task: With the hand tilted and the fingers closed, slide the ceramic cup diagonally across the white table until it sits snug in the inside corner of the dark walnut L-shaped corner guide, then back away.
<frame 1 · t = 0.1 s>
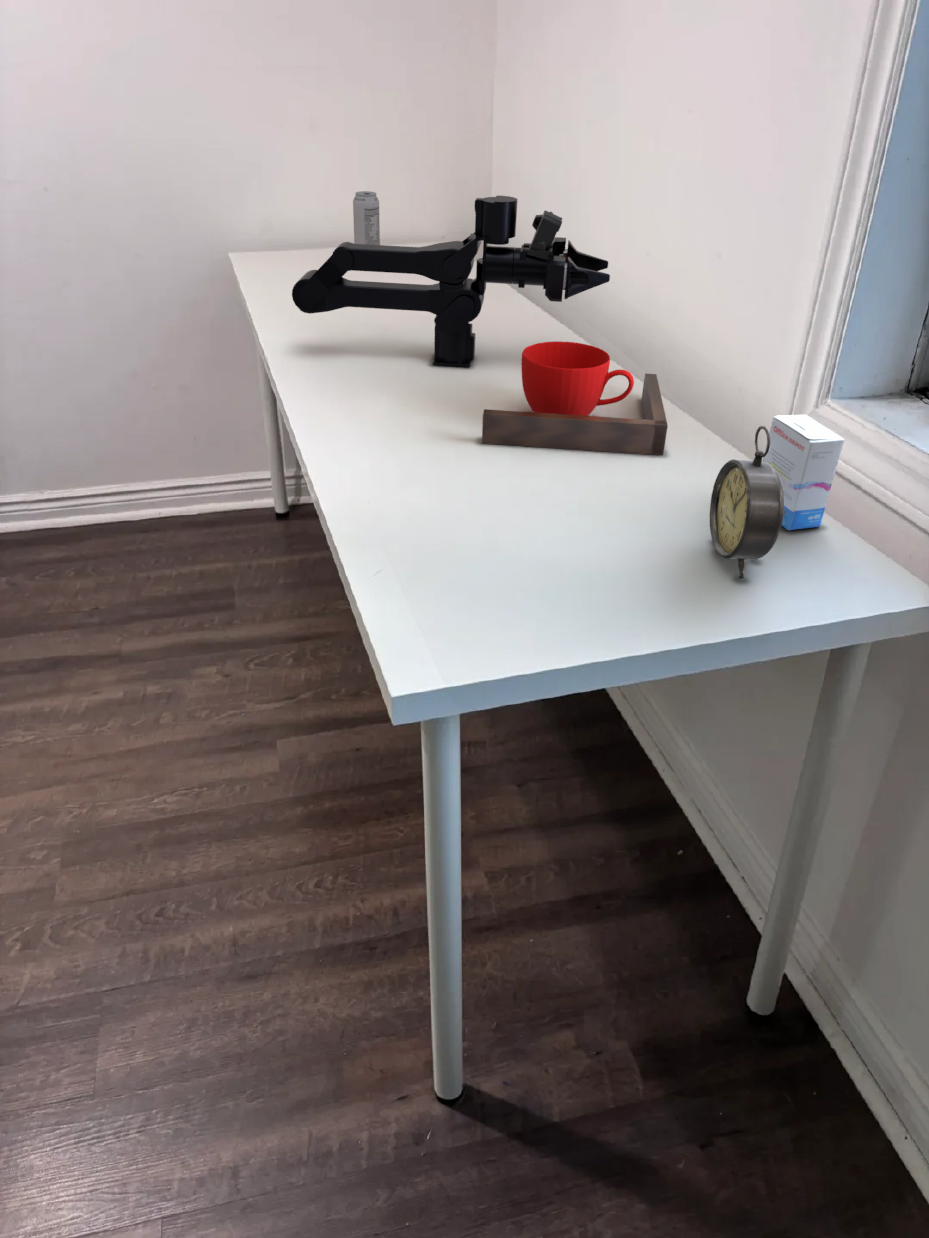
hand: (608, 271, 155), 17 cm above the table, tool horizontal, fingers open, 9 cm apart
energy drink can: (367, 262, 226), on the table
ceramic cup: (572, 422, 144), on the table
corner guide: (649, 449, 136), on the table
ink box: (786, 515, 120), on the table
alarm clock: (736, 561, 109), on the table
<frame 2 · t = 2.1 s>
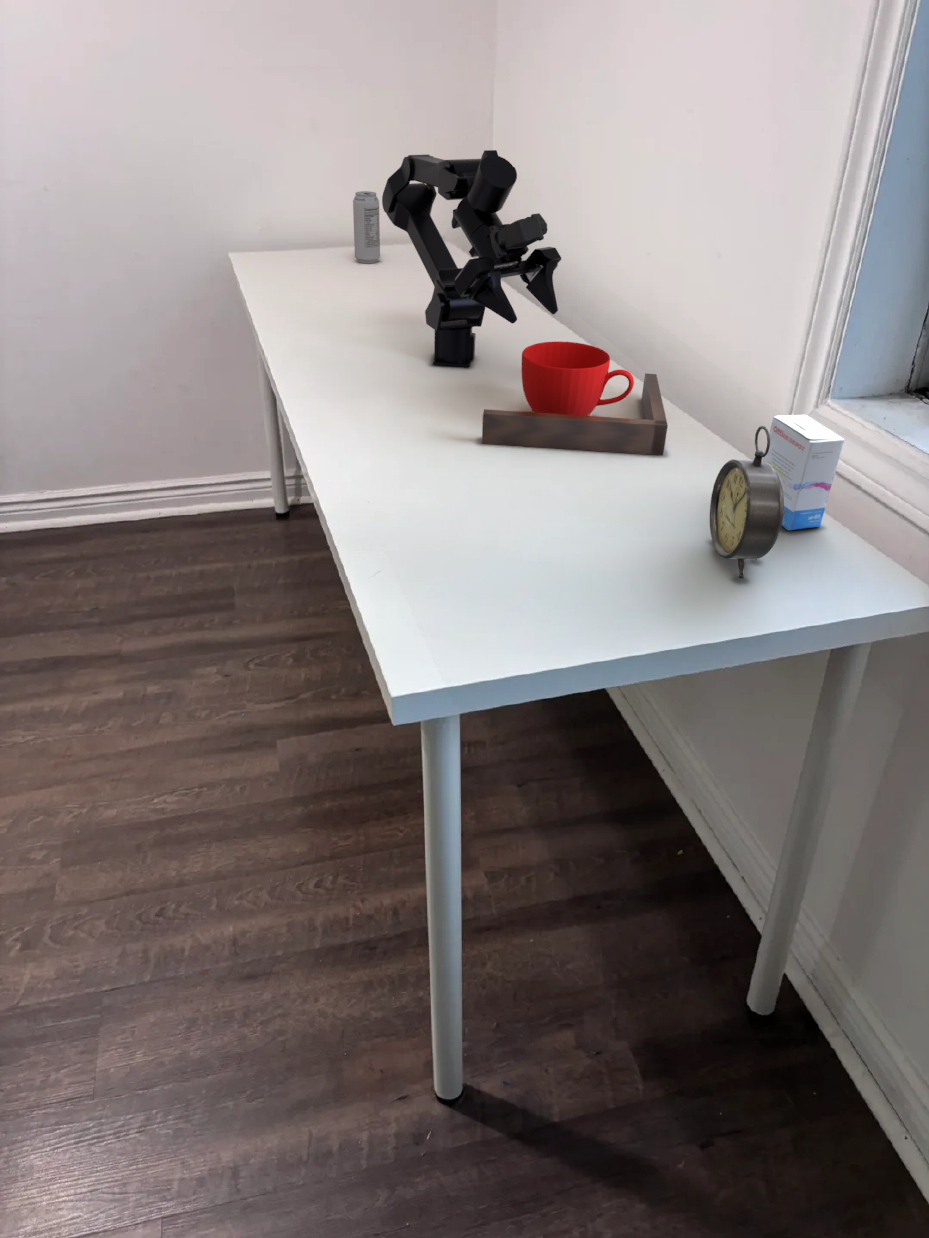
hand: (535, 317, 145), 13 cm above the table, tool tilted 50°, fingers open, 9 cm apart
nothing on the table moved.
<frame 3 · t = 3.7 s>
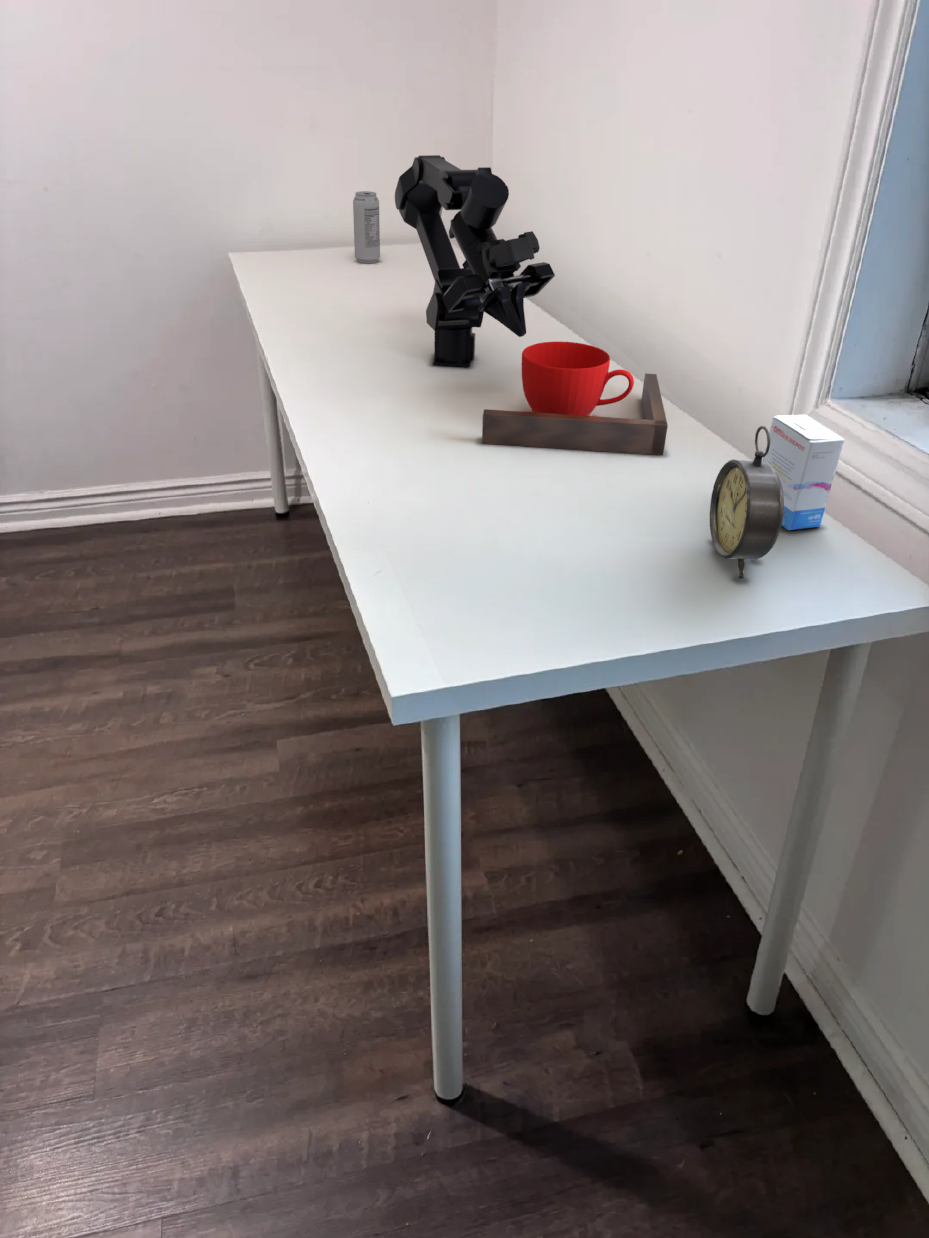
hand: (523, 335, 146), 10 cm above the table, tool tilted 45°, fingers closed
nothing on the table moved.
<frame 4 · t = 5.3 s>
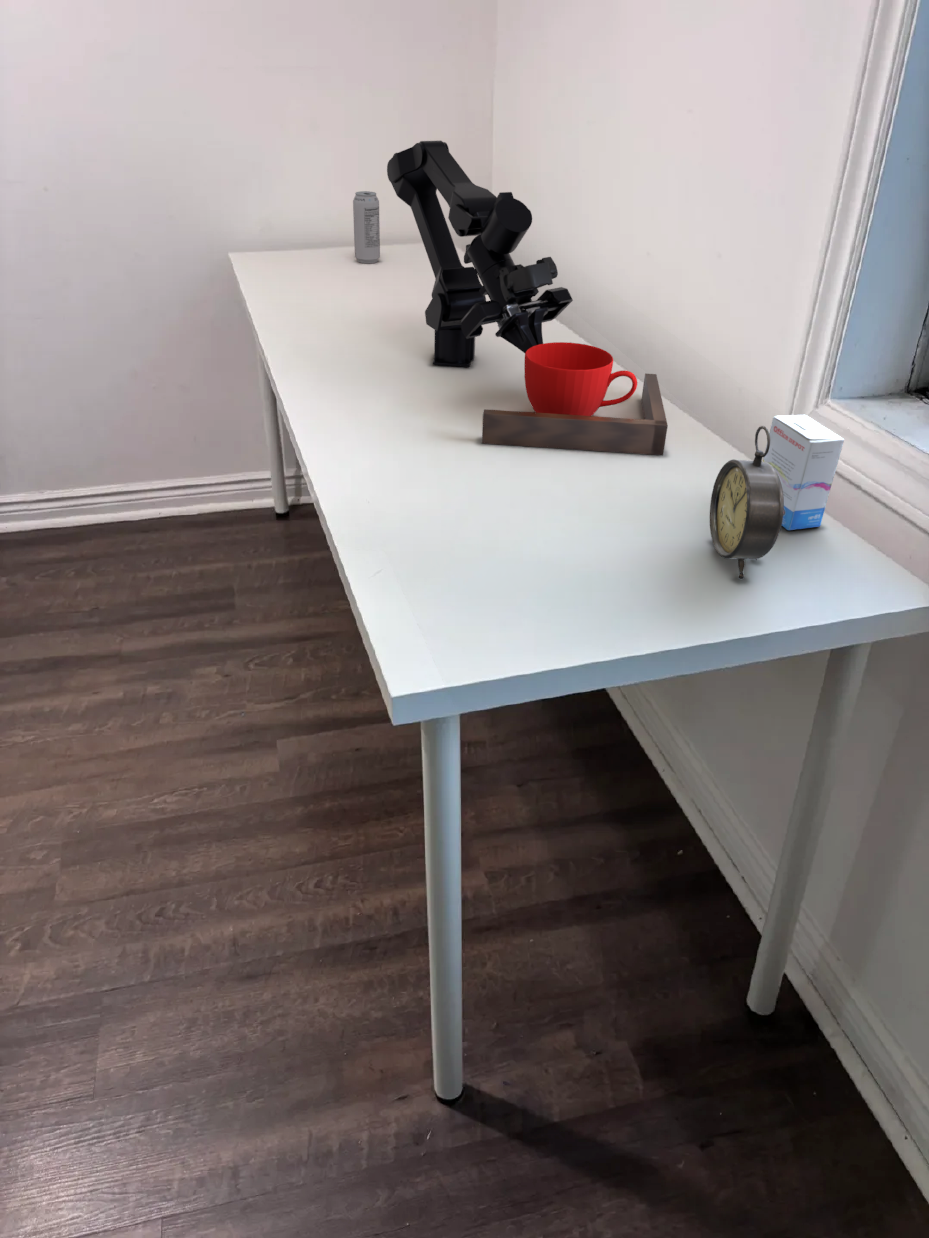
hand: (541, 361, 145), 7 cm above the table, tool tilted 45°, fingers closed
ceramic cup: (575, 423, 144), on the table, touching gripper
everything else where it was.
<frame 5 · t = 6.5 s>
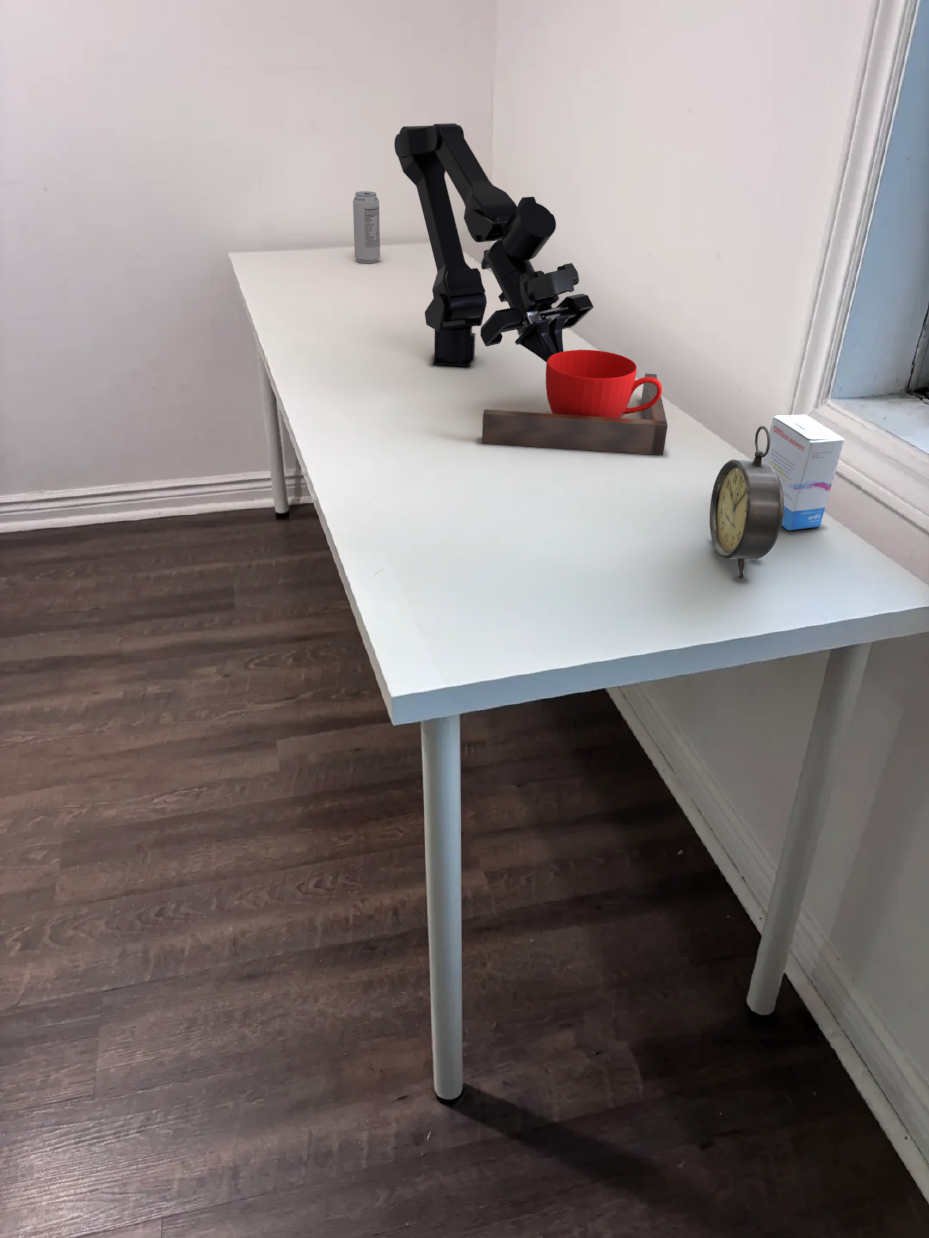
hand: (561, 369, 142), 7 cm above the table, tool tilted 45°, fingers closed, pressing on ceramic cup
ceramic cup: (597, 432, 141), on the table, touching corner guide, gripper
everything else where it was.
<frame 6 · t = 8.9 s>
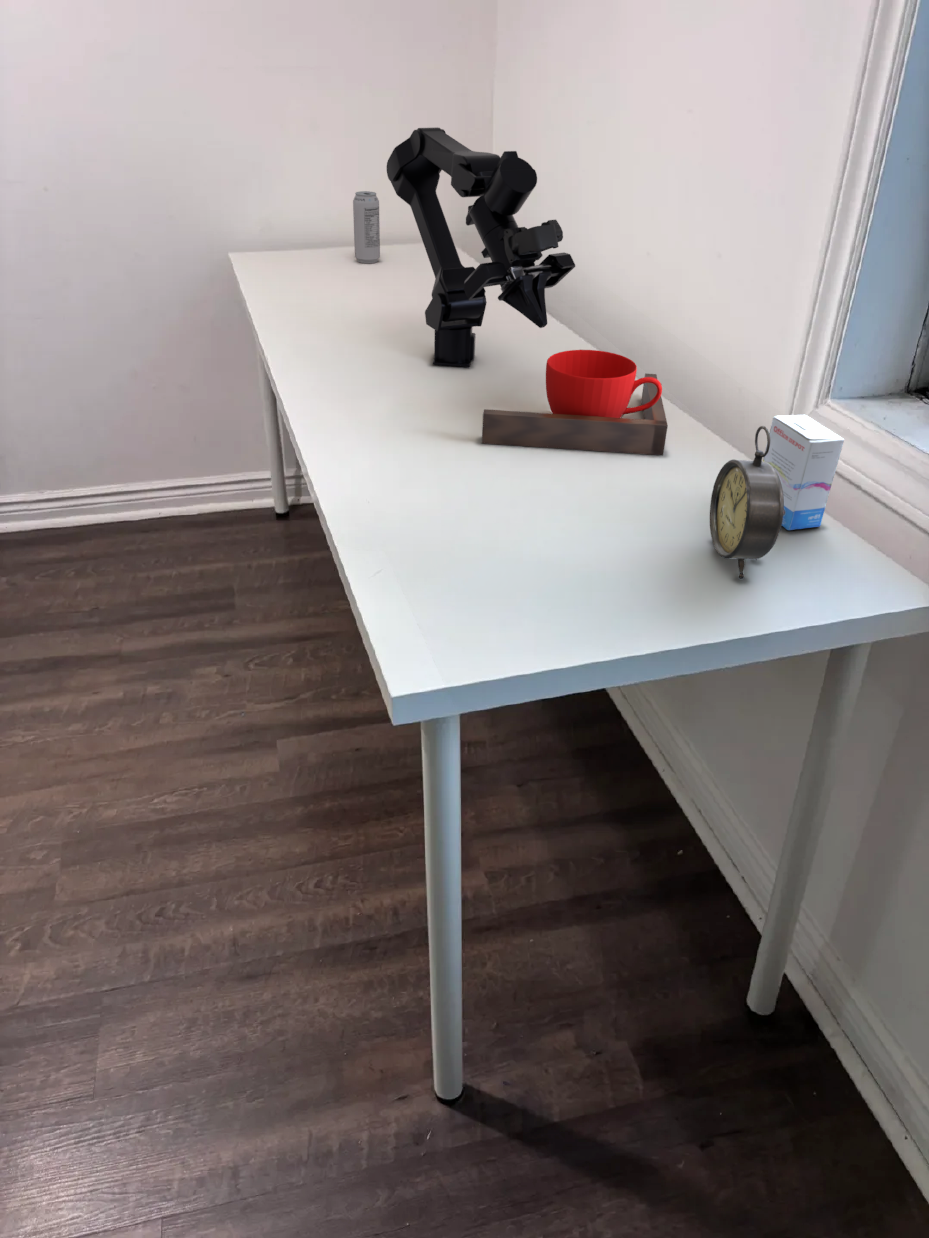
hand: (543, 326, 142), 12 cm above the table, tool tilted 45°, fingers closed
ceramic cup: (597, 432, 141), on the table, touching corner guide
everything else where it was.
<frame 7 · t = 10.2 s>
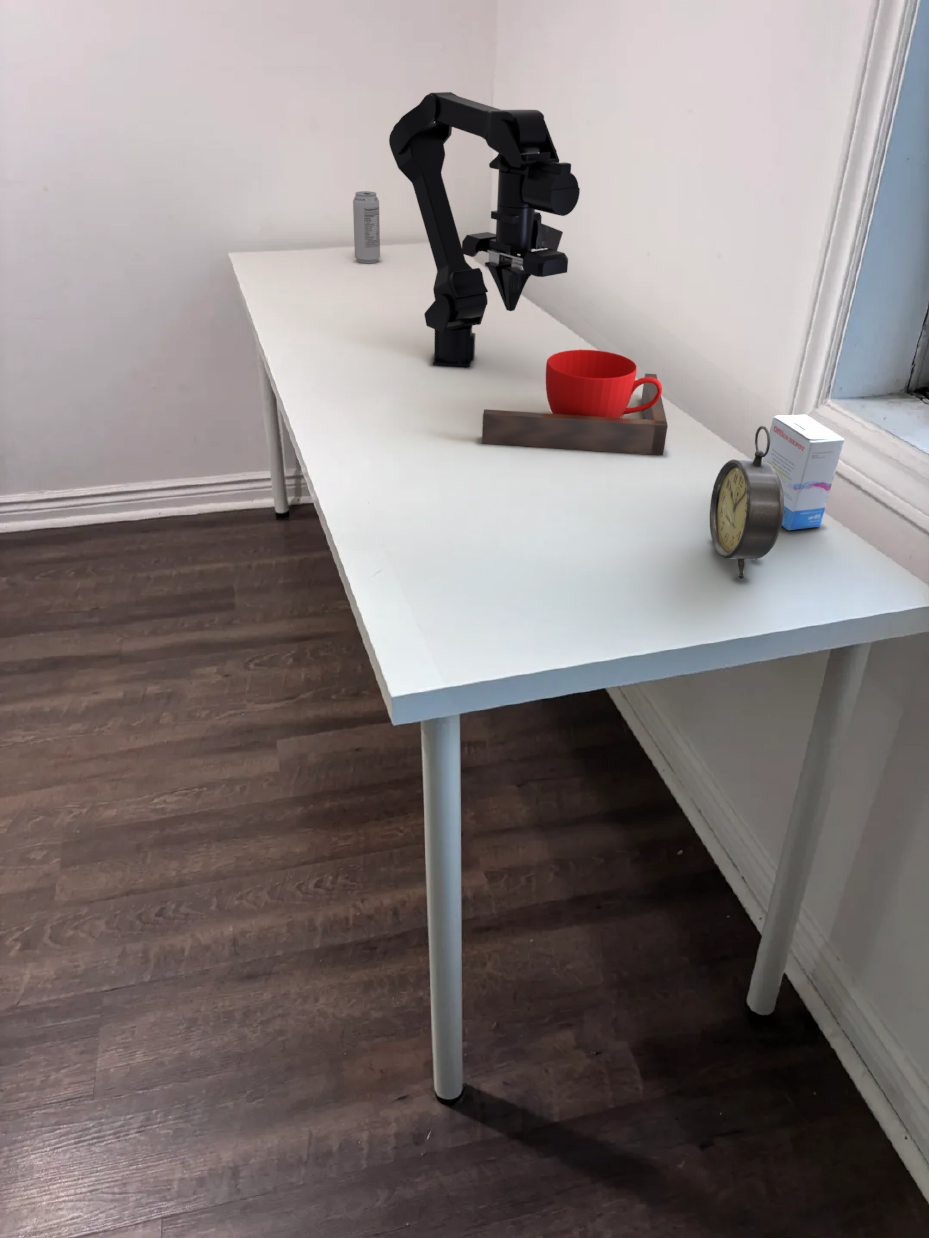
hand: (510, 310, 150), 12 cm above the table, tool pointing down, fingers closed
nothing on the table moved.
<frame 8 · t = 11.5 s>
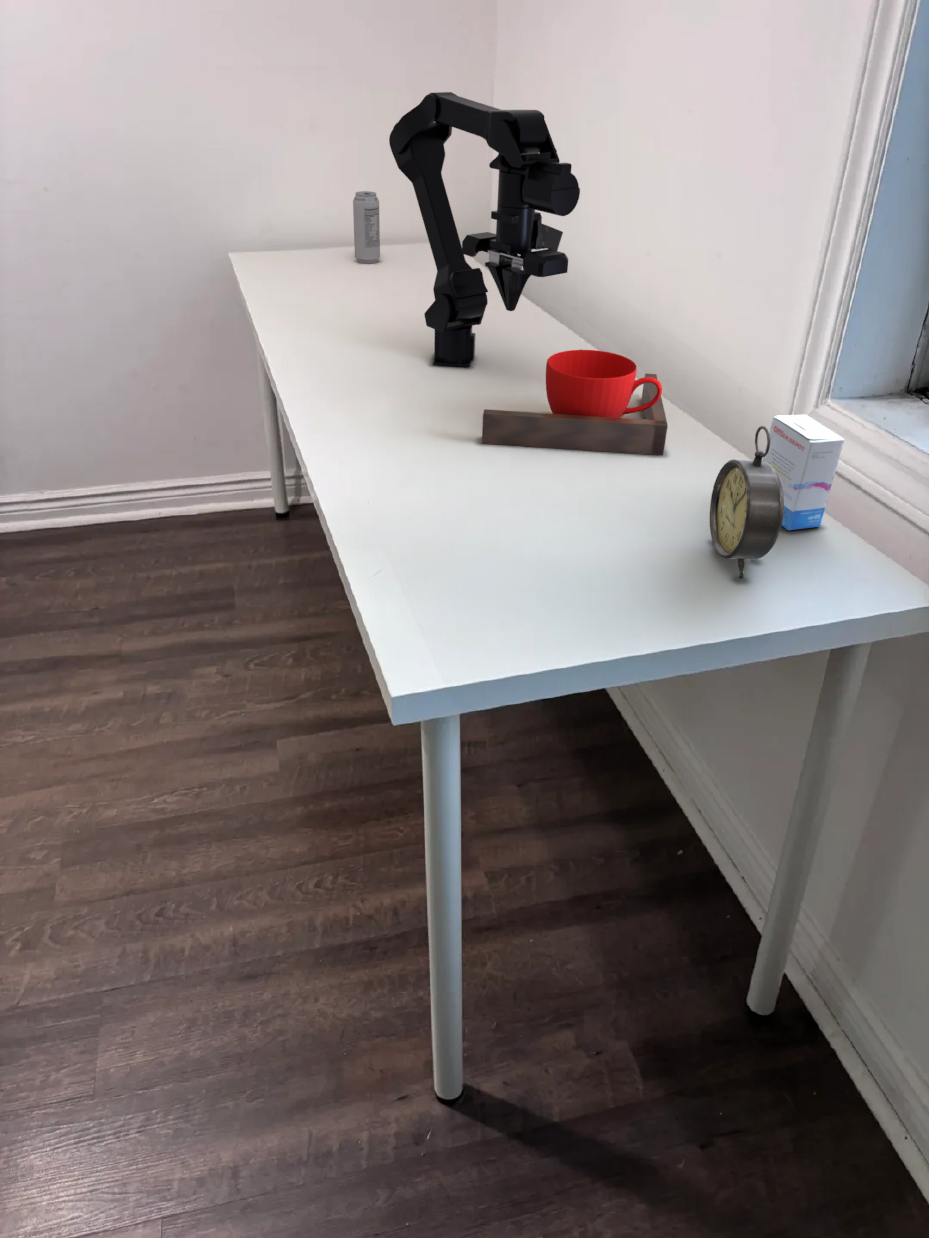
hand: (510, 310, 150), 12 cm above the table, tool pointing down, fingers closed
nothing on the table moved.
at the end: ceramic cup 1.5 cm from the target spot on the corner guide, point 0.0 cm above the corner guide's base; ceramic cup tilted 0° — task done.
